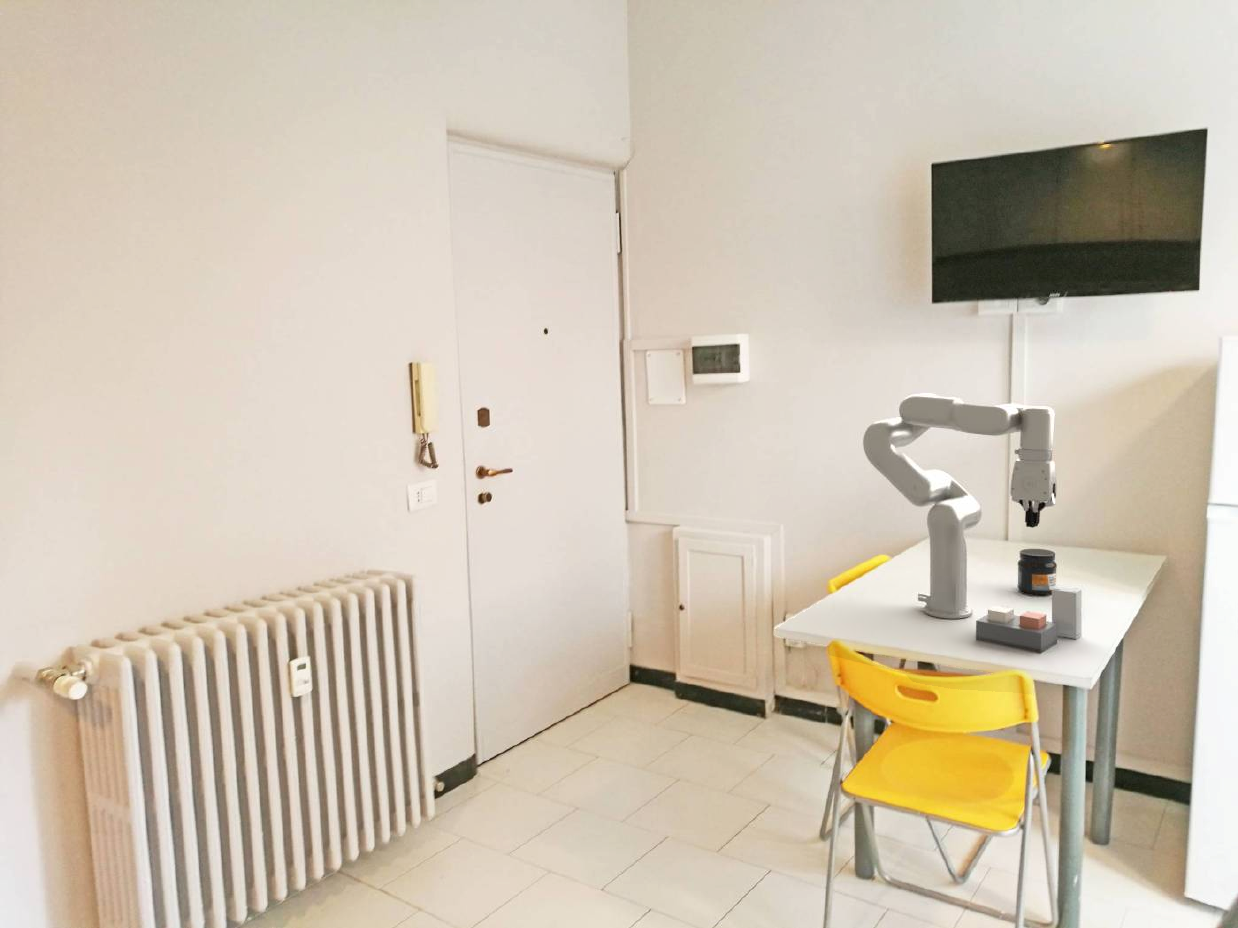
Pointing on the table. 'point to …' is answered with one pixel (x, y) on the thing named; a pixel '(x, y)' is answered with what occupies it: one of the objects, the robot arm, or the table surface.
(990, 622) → the key housing
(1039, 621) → the brick key
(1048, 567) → the supplement container
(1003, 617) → the ivory key
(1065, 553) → the table surface
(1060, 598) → the skincare box
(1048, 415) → the robot arm
